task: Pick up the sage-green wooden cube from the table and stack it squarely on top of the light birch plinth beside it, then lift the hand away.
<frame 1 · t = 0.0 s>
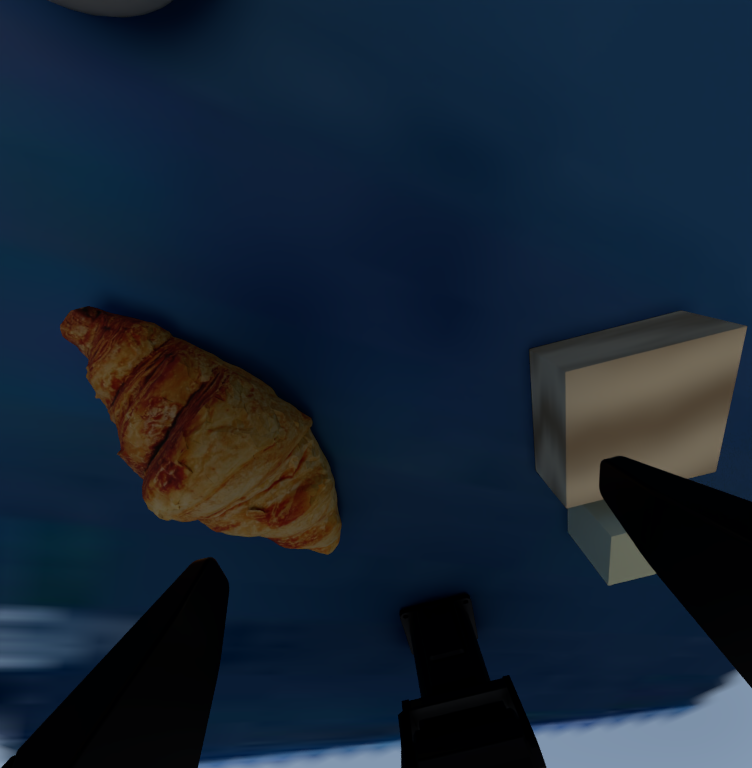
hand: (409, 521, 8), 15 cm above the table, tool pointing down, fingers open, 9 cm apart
croissant: (238, 433, 24), on the table
birch plinth: (602, 397, 25), on the table
sage cube: (596, 502, 29), on the table
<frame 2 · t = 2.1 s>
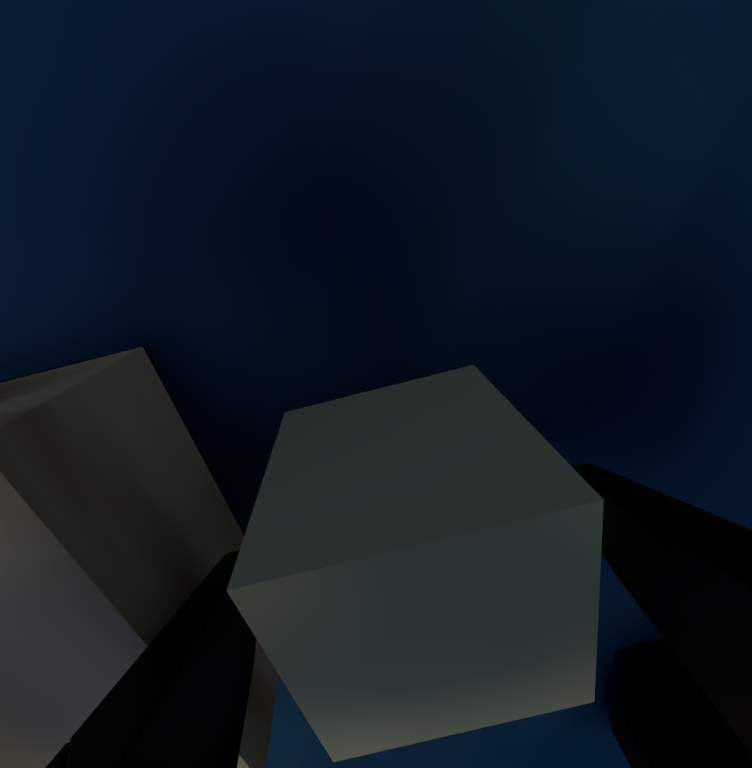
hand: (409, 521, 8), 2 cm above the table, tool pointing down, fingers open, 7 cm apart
birch plinth: (62, 549, 10), on the table
sage cube: (398, 463, 10), on the table
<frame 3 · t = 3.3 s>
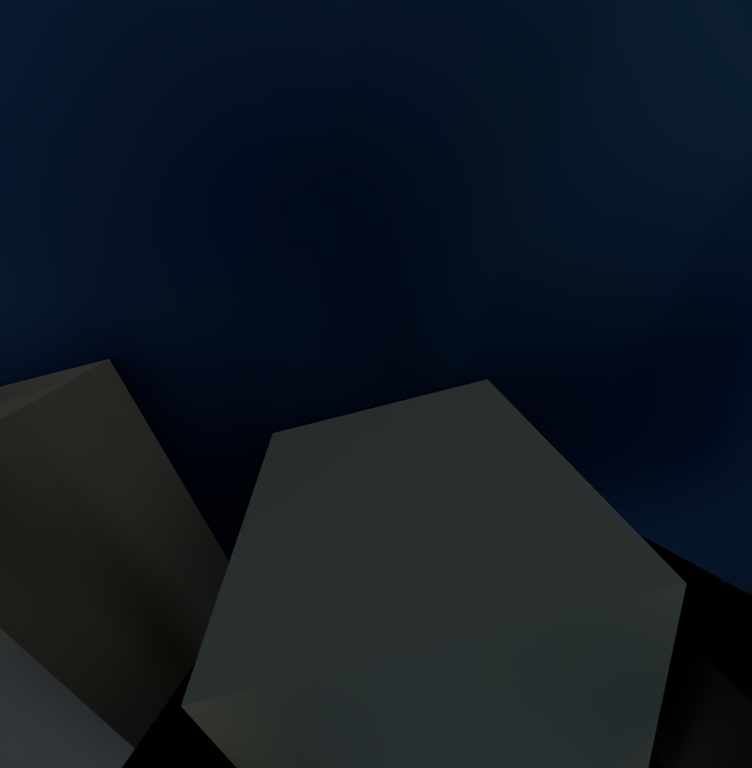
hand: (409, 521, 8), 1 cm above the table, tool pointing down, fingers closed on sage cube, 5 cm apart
birch plinth: (27, 582, 9), on the table
sage cube: (401, 490, 9), on the table, touching gripper
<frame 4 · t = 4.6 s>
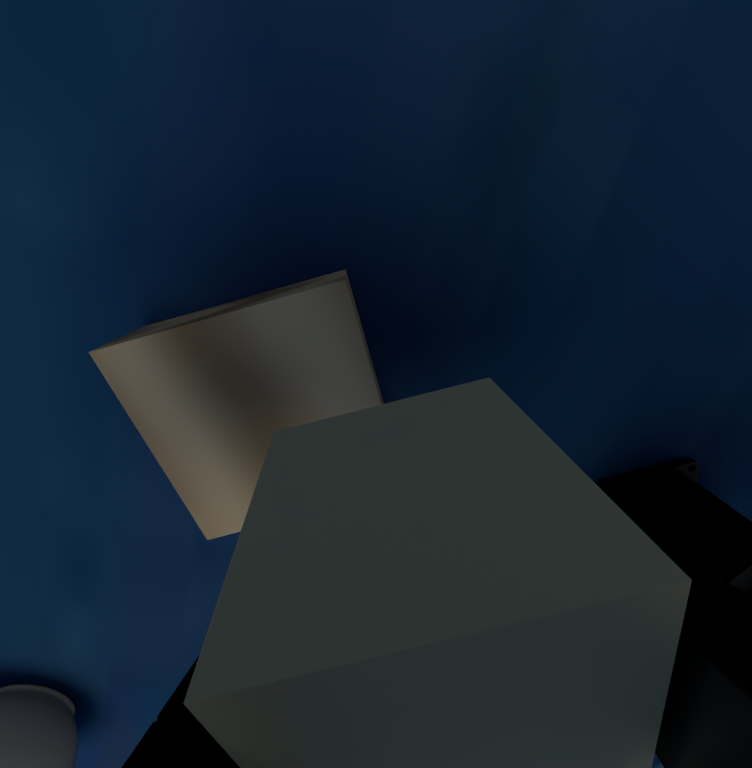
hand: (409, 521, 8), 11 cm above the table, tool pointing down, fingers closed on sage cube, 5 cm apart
lidded jar: (34, 703, 28), on the table
birch plinth: (282, 390, 19), on the table
sage cube: (403, 488, 9), point 10 cm above the table, touching gripper
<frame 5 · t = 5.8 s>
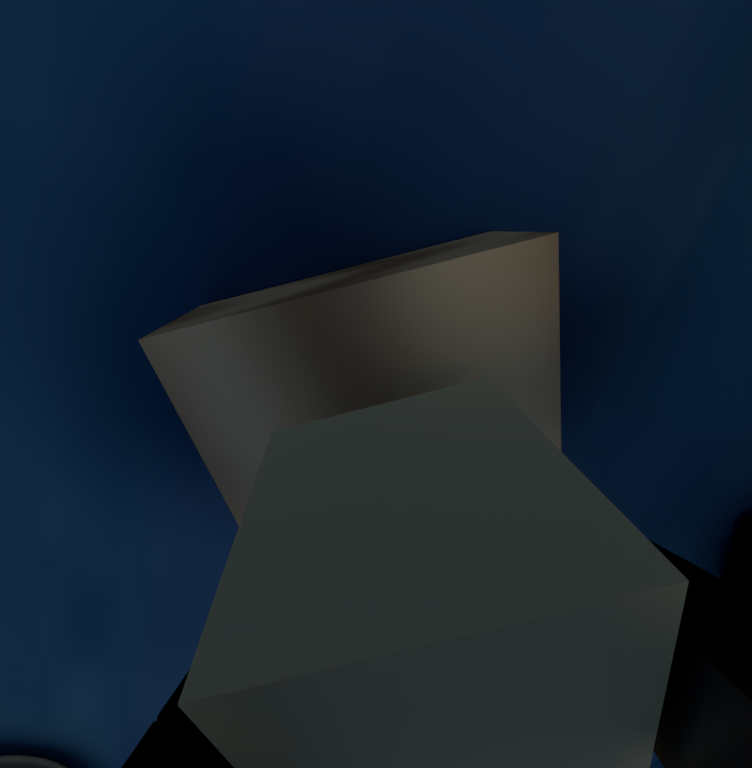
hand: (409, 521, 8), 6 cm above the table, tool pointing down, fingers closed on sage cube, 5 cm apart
birch plinth: (378, 398, 14), on the table
sage cube: (401, 489, 9), point 5 cm above the table, touching gripper
when the fingers open (6 cm above the table, at t = 6.5 s): sage cube drops 1 cm, resting on birch plinth.
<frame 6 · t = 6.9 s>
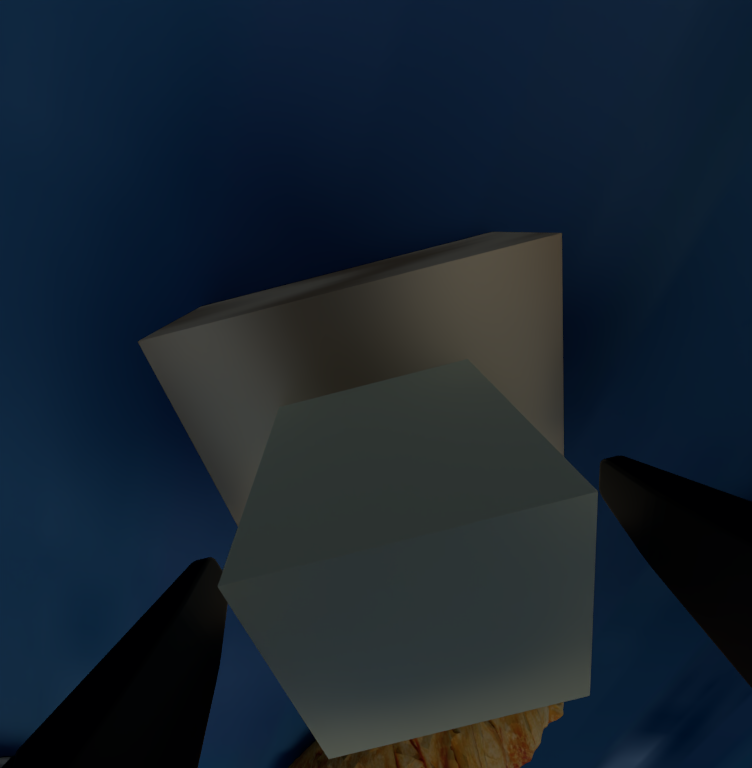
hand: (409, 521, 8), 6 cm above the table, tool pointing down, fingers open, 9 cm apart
croissant: (400, 715, 24), on the table
birch plinth: (379, 399, 14), on the table
sage cube: (393, 460, 10), point 4 cm above the table, touching birch plinth
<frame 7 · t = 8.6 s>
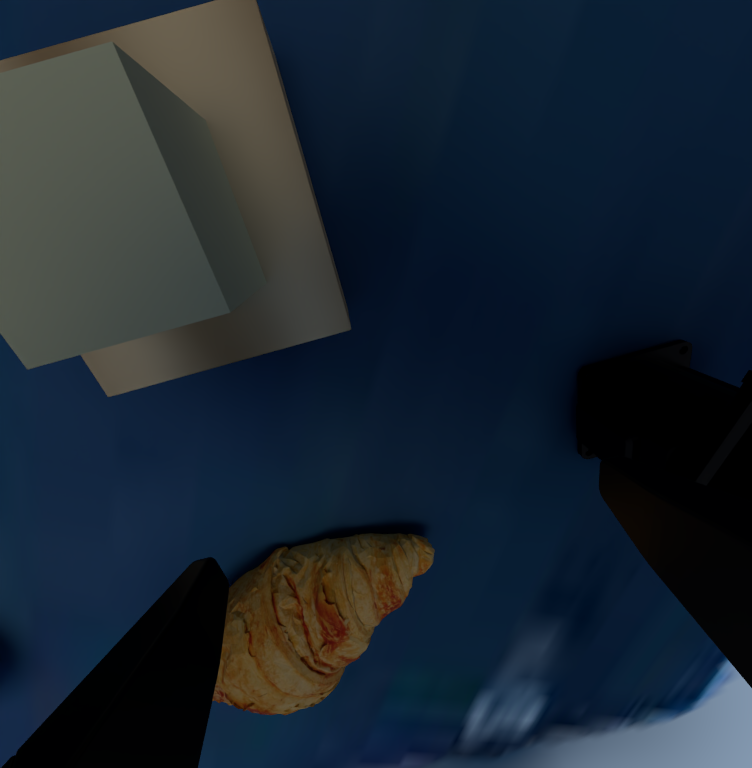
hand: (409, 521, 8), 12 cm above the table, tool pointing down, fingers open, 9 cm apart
croissant: (300, 588, 26), on the table
birch plinth: (206, 229, 15), on the table
sage cube: (167, 228, 12), point 4 cm above the table, touching birch plinth
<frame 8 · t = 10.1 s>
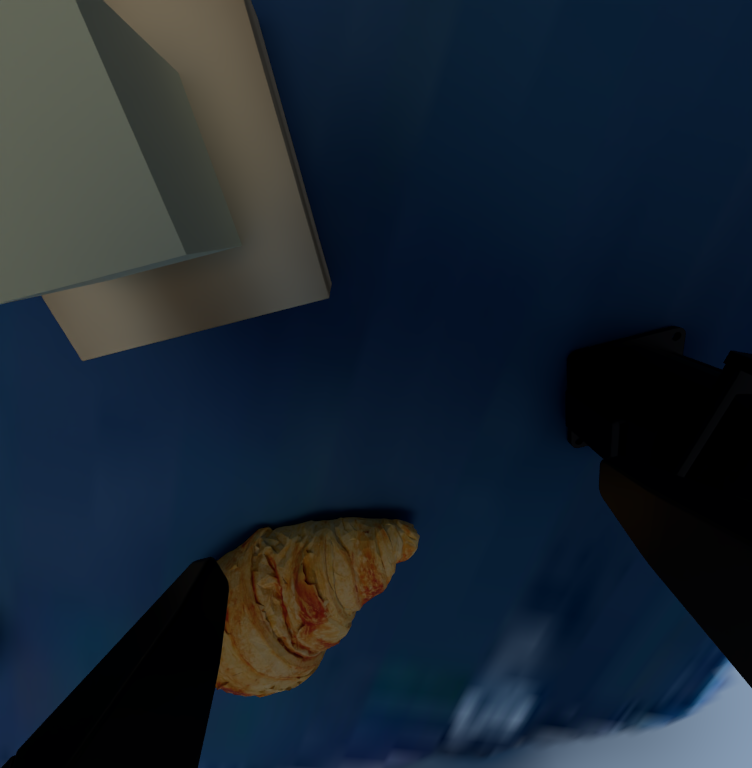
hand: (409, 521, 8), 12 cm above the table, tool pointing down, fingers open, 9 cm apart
croissant: (283, 572, 26), on the table
birch plinth: (188, 197, 15), on the table
sage cube: (140, 186, 12), point 4 cm above the table, touching birch plinth
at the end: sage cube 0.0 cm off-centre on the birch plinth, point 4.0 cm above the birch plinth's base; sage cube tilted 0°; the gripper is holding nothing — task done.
